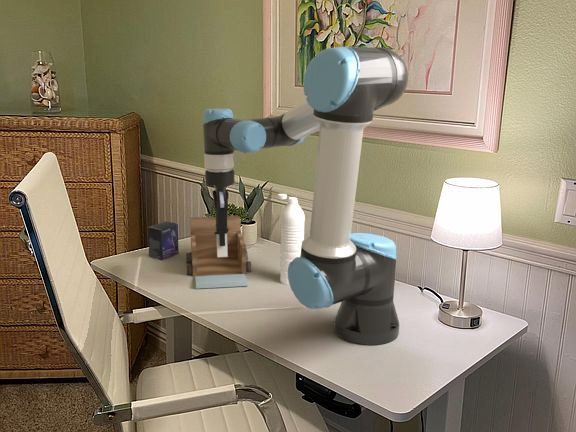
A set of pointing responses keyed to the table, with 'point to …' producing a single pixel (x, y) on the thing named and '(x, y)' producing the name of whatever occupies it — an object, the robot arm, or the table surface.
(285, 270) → the water bottle
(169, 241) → the box
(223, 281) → the panel
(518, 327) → the table surface
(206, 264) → the box
